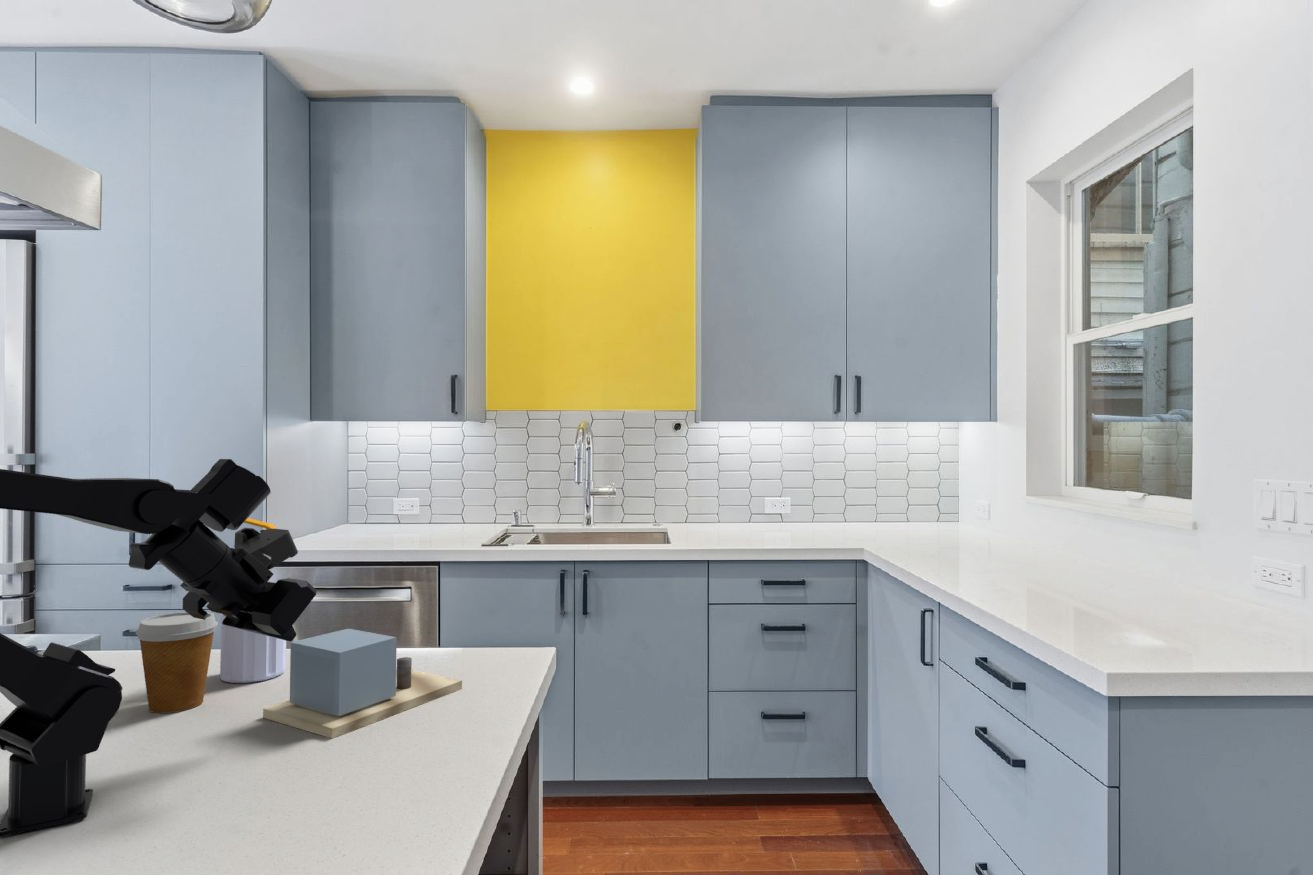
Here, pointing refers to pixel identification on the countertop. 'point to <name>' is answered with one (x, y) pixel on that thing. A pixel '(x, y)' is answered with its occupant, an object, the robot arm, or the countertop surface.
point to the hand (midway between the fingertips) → (292, 637)
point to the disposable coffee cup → (175, 659)
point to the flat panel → (409, 694)
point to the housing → (342, 671)
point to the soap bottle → (250, 649)
